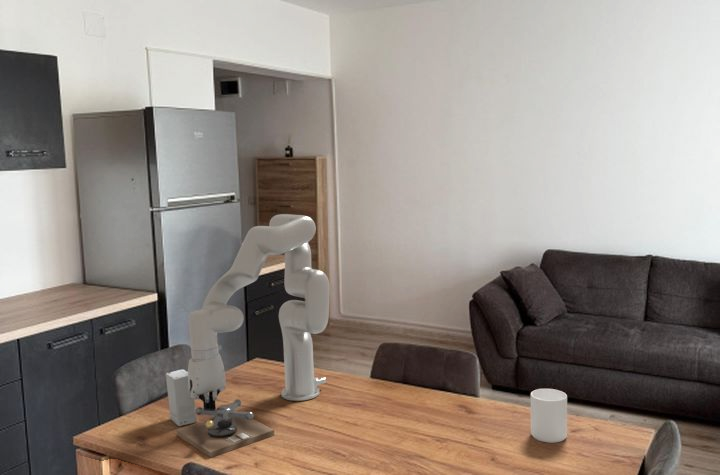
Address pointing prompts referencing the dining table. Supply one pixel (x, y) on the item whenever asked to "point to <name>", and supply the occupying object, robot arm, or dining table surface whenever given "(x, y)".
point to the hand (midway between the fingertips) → (210, 413)
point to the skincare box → (180, 398)
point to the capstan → (223, 419)
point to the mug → (549, 415)
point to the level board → (218, 445)
